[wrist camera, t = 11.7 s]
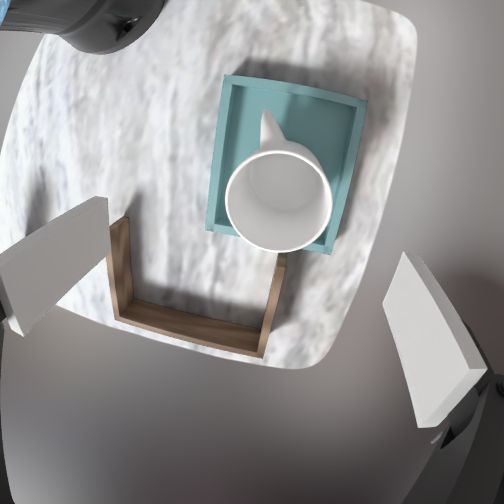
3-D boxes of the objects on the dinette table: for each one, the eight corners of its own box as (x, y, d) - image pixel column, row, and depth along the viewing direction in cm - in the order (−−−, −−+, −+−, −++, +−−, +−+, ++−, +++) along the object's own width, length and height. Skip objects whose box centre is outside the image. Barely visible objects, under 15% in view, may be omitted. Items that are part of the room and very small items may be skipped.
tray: (229, 77, 29) (224, 74, 26) (362, 102, 28) (367, 101, 25) (211, 222, 37) (205, 230, 34) (328, 245, 36) (330, 255, 34)
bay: (123, 216, 38) (103, 230, 34) (287, 248, 37) (285, 267, 32) (129, 301, 45) (114, 319, 41) (266, 335, 44) (262, 358, 39)
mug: (311, 105, 28) (319, 98, 19) (325, 208, 33) (337, 247, 24) (233, 117, 30) (205, 118, 21) (253, 216, 35) (236, 258, 25)
